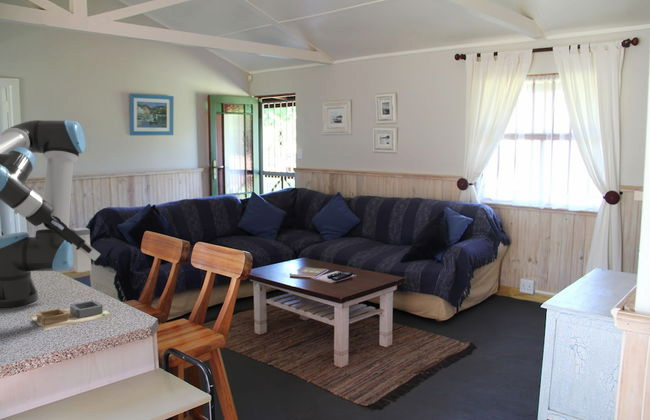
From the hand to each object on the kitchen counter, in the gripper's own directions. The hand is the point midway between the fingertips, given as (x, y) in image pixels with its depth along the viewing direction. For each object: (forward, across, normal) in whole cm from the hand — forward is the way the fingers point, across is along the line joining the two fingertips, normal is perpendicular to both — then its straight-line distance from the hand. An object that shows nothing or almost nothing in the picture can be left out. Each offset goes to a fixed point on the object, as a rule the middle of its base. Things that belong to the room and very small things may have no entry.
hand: (94, 255), depth 177 cm
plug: (0, 0, -6) cm, 6 cm away
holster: (+3, 0, -22) cm, 22 cm away
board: (+8, 0, -19) cm, 21 cm away
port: (+10, +1, -15) cm, 18 cm away
